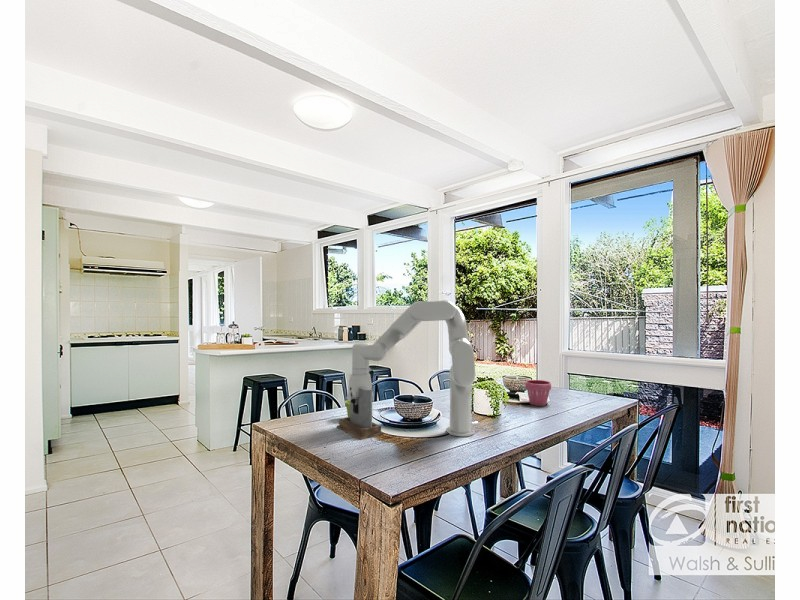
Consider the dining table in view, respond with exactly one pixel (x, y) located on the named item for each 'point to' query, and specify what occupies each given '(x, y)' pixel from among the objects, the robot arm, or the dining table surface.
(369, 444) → the dining table surface
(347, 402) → the plant pot
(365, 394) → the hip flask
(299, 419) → the dining table surface
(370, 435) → the walnut stand
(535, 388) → the plant pot
